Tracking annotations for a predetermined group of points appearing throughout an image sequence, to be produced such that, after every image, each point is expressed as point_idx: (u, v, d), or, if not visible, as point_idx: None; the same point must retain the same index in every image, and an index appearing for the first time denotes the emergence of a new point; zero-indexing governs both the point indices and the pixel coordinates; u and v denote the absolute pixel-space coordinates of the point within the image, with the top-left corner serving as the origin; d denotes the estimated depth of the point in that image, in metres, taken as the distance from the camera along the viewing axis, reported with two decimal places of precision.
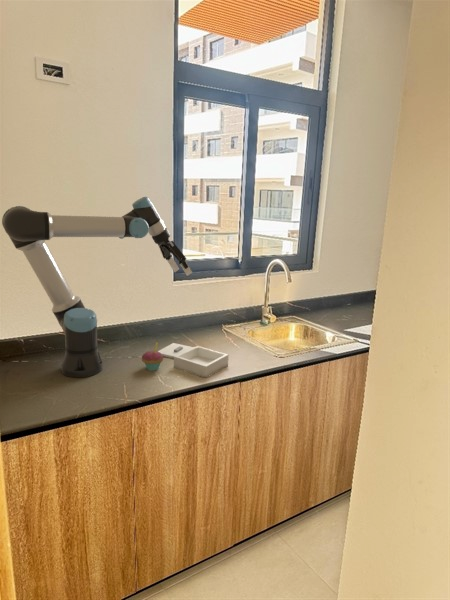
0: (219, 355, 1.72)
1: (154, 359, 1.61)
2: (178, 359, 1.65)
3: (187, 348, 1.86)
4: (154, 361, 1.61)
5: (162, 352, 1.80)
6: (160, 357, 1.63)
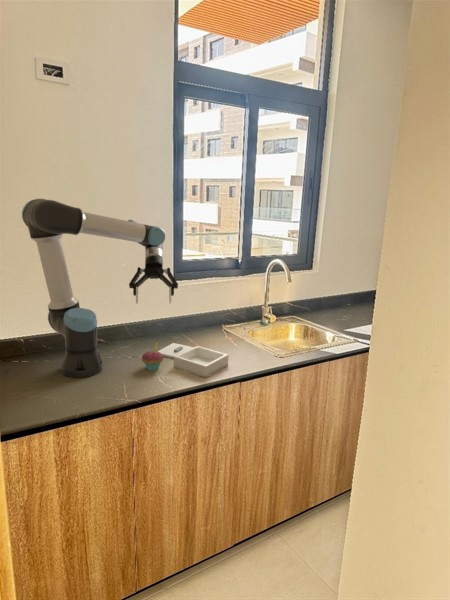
0: (219, 355, 1.72)
1: (154, 359, 1.61)
2: (178, 359, 1.65)
3: (187, 348, 1.86)
4: (154, 361, 1.61)
5: (162, 352, 1.80)
6: (160, 357, 1.63)
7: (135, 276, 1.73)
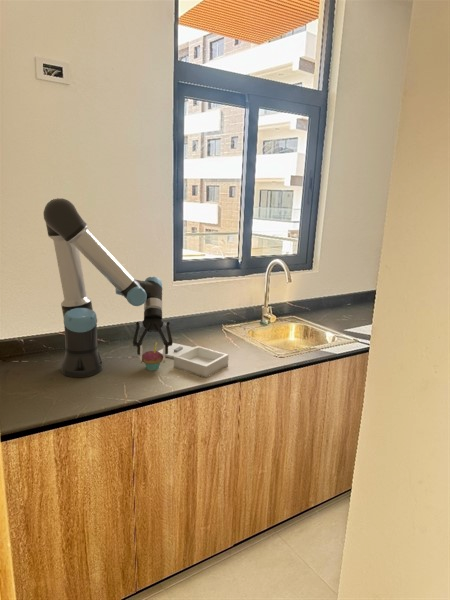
0: (219, 355, 1.72)
1: (154, 359, 1.61)
2: (178, 359, 1.65)
3: (187, 348, 1.86)
4: (154, 361, 1.60)
5: (162, 352, 1.80)
6: (160, 357, 1.62)
7: (136, 332, 1.65)
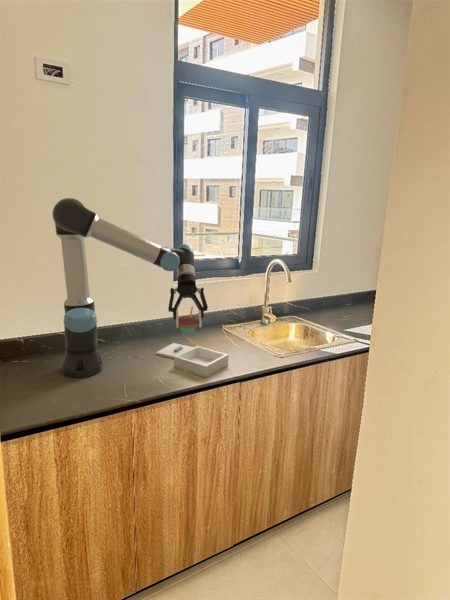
0: (219, 355, 1.72)
1: (190, 323, 1.61)
2: (178, 359, 1.65)
3: (187, 348, 1.86)
4: (190, 325, 1.60)
5: (162, 352, 1.80)
6: (196, 322, 1.62)
7: (171, 298, 1.65)
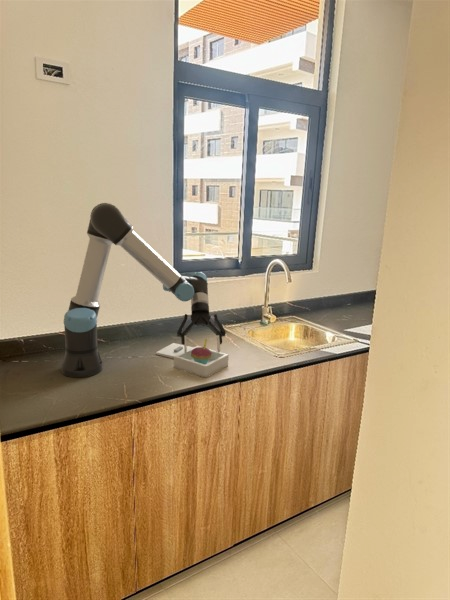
0: (219, 355, 1.72)
1: (204, 354, 1.65)
2: (178, 359, 1.65)
3: (187, 348, 1.86)
4: (204, 357, 1.65)
5: (162, 352, 1.80)
6: (209, 353, 1.67)
7: (182, 324, 1.69)
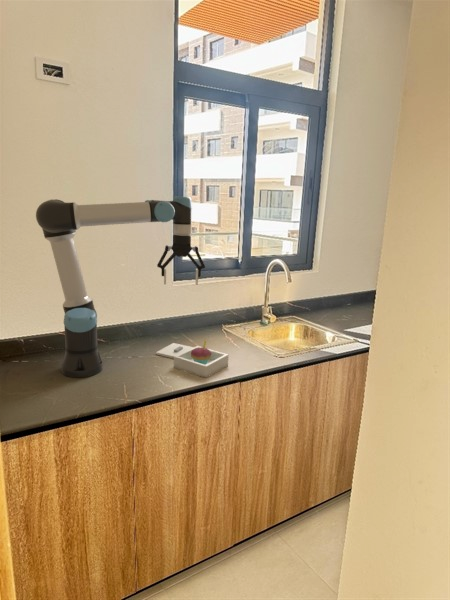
0: (219, 355, 1.72)
1: (204, 355, 1.65)
2: (178, 359, 1.65)
3: (187, 348, 1.86)
4: (203, 357, 1.65)
5: (162, 352, 1.80)
6: (209, 353, 1.67)
7: (163, 257, 1.73)
